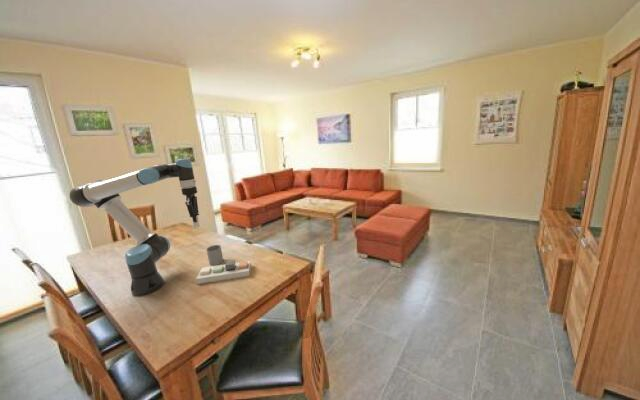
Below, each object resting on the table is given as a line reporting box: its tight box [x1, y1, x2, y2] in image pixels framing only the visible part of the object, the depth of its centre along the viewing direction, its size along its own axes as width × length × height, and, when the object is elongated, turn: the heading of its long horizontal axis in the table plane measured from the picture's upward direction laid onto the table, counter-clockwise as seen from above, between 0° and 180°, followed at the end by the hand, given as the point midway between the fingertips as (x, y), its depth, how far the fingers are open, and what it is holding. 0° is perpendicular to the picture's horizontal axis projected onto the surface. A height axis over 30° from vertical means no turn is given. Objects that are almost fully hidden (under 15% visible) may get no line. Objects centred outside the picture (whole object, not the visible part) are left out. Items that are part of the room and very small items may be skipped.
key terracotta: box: [238, 260, 249, 269], centre depth 146 cm, size 5×5×4 cm
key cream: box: [199, 266, 211, 275], centre depth 143 cm, size 5×5×4 cm
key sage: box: [213, 264, 224, 273], centre depth 144 cm, size 5×5×4 cm
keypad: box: [195, 260, 252, 285], centre depth 145 cm, size 28×12×4 cm, turn 100°
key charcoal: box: [225, 260, 237, 271], centre depth 144 cm, size 5×5×4 cm
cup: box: [206, 244, 224, 266], centre depth 160 cm, size 8×8×10 cm
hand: (197, 226), depth 144 cm, fingers closed
